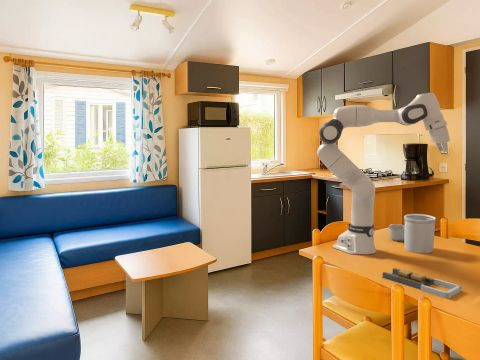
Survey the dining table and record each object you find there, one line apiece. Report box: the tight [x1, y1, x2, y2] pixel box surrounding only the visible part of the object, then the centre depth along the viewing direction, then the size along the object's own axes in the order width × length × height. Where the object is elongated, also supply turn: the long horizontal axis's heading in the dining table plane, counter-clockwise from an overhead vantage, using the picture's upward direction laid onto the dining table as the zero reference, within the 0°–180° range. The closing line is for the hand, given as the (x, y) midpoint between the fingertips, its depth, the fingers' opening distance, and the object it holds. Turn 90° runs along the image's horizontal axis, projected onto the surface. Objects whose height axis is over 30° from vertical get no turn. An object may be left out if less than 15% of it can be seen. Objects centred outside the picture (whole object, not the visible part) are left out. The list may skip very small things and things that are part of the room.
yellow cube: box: [411, 272, 427, 284], centre depth 155 cm, size 4×4×4 cm
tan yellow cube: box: [398, 269, 414, 280], centre depth 159 cm, size 4×4×4 cm
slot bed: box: [381, 267, 435, 291], centre depth 158 cm, size 17×10×3 cm, turn 37°
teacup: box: [388, 223, 405, 242], centre depth 223 cm, size 14×11×8 cm
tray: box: [420, 278, 462, 300], centre depth 148 cm, size 10×11×3 cm
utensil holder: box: [403, 213, 437, 254], centre depth 202 cm, size 15×15×18 cm
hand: (443, 151), depth 188 cm, fingers open, 8 cm apart
